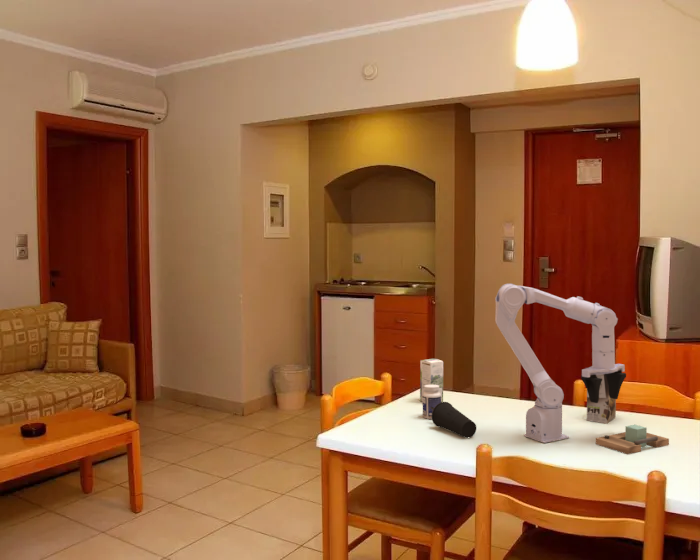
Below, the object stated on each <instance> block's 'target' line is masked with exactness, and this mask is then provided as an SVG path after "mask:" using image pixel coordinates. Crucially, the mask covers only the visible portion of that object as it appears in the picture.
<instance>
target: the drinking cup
mask: <svg viewBox="0 0 700 560" xmlns="http://www.w3.org/2000/svg"><path fill="white" fill-rule="evenodd" d="M431 409H432V410H433V411H432V419H431V420H432V422H433V424H434V425H435V426H436V427H439V426H440V427H439V428H443V429H445V430H447V431H449V432H452V433H454V434H456V435H458V436H461V437H463V438H466V439H469V438H468V437H470V438H472V437H473V436H475V434H476V432H477V424H476V423H475V422H474V421H473V420H471V419H470V418H469V417H467V416H466V415H465V414H463V413H462V412H460V411H459V410H458V409H457V408H455V407H454V406H453V404H451V403H450V402H448V401H443V402H441V403H439V404H437V405H436V406H435V408H433V407H431Z"/></svg>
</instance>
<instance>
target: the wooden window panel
mask: <svg viewBox="0 0 700 560" xmlns="http://www.w3.org/2000/svg"><path fill="white" fill-rule="evenodd" d="M642 443H646V446H649V445H650V447H653V448H660V447H665V446H669V445H670V438H668V437H664V436H661V435H657V434H653V433H649V432H647V434H646V439H641V440H637V441H634V443H633V442H629V441H626V440H625V431H624V432H619V433H613V434H609V435H608V434H605V435H604V436H599V437H595V445H597V446H601V447H603V446H604V448H607V449H610V450H613V451H616V450H617V452H619V451H620V453H622V452H623V454H626V455H630V454H635V453H639V452H642V448H641V445H640V444H642Z"/></svg>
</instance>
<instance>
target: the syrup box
mask: <svg viewBox="0 0 700 560" xmlns="http://www.w3.org/2000/svg"><path fill="white" fill-rule="evenodd" d="M419 362H420V363H419V364H420V367H419V368H420V369H419V371H420V373H419V374H420V375H419V376H420V377H419V378H420V379H419V380H420V381H419V382H420V383H419V401H420V402H422V403H423V393H424V392H425V390H424V386H425V385H439V393H440V394H441V402H444V361H443V360H440V359H438V358H429V359H420V361H419Z"/></svg>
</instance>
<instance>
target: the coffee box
mask: <svg viewBox="0 0 700 560" xmlns="http://www.w3.org/2000/svg"><path fill="white" fill-rule="evenodd" d="M596 377H597V378H601V379H602V382H601V385H600V390H599V401H598V403H594V402H591V401H590V398H589V394H588V391H587V390H586V421H590V422H595V423H596V422H597V423H602V424H609V422H611V421H613V420H614V419H615V418H616V417H617V416H616V413H617V412H616V411H617V410H616V409H617V408H616V407H617V403H616V402H617V399H612V398H610V396H609V387H608V381H607V377H606V375H605V374H602V375H596ZM613 418H614V419H613ZM612 419H613V420H612Z"/></svg>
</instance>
